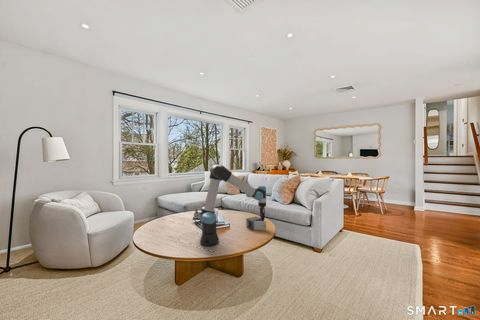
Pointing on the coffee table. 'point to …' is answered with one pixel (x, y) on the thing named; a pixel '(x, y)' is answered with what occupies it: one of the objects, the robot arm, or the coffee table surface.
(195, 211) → the sign
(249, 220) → the camera body
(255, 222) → the side door
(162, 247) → the coffee table surface
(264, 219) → the robot arm
